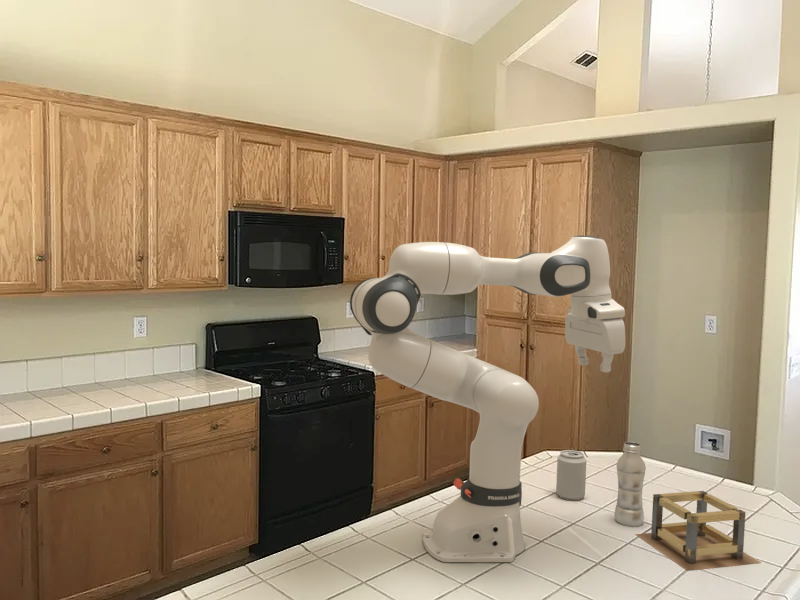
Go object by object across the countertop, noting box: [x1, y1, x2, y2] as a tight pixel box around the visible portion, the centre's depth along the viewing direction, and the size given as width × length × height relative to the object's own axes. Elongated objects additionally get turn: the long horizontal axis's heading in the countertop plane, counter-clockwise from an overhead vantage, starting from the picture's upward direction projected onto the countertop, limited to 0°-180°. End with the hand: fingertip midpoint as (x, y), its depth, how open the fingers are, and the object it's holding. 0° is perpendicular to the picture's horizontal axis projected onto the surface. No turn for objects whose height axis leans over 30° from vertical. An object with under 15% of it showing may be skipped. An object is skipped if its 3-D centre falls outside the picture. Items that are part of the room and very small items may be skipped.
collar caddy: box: [650, 490, 746, 564], centre depth 145 cm, size 13×13×10 cm
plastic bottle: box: [614, 441, 647, 528], centre depth 159 cm, size 6×7×20 cm
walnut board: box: [634, 532, 762, 572], centre depth 145 cm, size 18×18×1 cm
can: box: [555, 449, 587, 501], centre depth 178 cm, size 8×8×12 cm
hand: (594, 368), depth 151 cm, fingers open, 8 cm apart
